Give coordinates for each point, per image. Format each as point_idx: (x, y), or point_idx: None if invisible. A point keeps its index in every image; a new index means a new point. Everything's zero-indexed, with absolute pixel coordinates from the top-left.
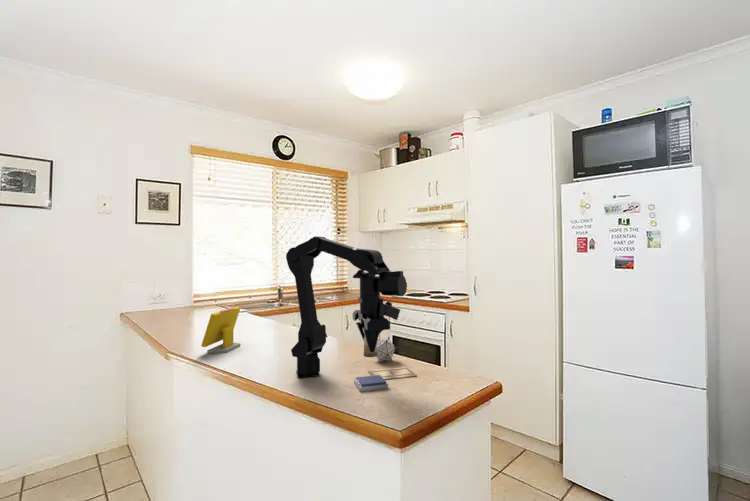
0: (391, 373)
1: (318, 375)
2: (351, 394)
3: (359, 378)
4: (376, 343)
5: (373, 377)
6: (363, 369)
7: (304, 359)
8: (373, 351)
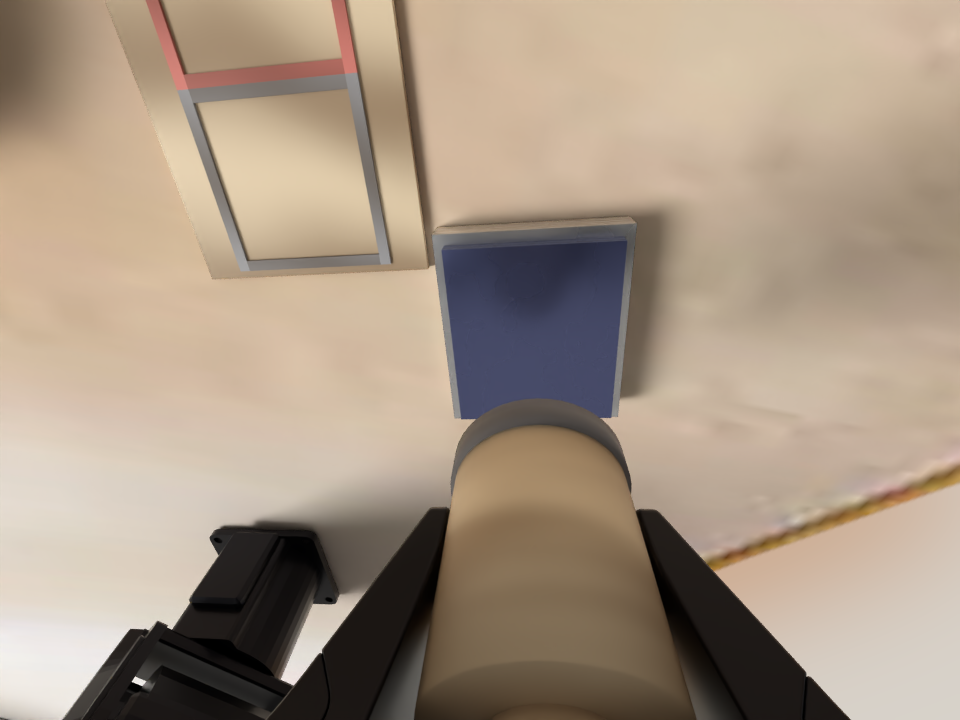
0: (289, 90)
1: (314, 535)
2: (633, 444)
3: (488, 403)
4: (634, 564)
5: (492, 313)
6: (163, 294)
7: (283, 668)
8: (653, 516)
